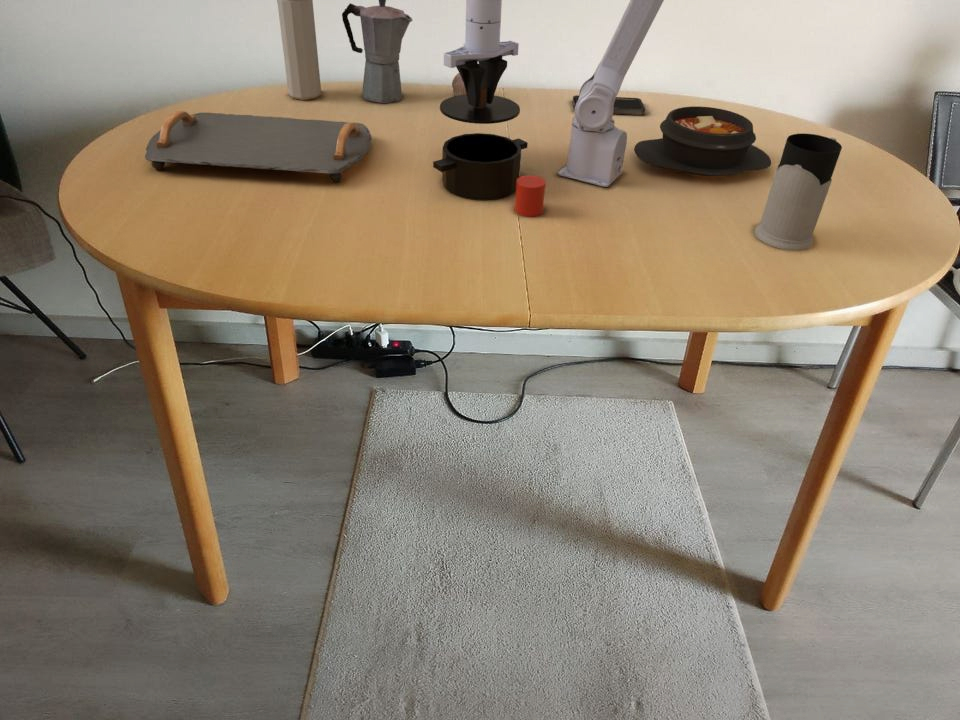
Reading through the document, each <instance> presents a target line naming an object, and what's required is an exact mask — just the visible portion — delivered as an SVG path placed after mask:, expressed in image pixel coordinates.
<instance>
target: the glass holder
mask: <svg viewBox="0 0 960 720" xmlns="http://www.w3.org/2000/svg"><path fill="white" fill-rule="evenodd" d="M842 149H843V146H842V145H841V144H840V143H839V142H838V141H837V139H836V138H835V137H827V136H824V135H819V134H814V133H804V132H803V133H802V132H801V133H794V134H791V135H788V136H787V138H786V140H785V144H784V148H783V151H782V154H781V156H780V160H779V164H778V165H777V166H776V170H775V173H774V176H773V179H772V183H771V185H770V190H769V193H768V196H767V200H766V203H765V206H764V210H763V212H762V215H761V218H760V222H759V224H758V225H757V226H756V227H755V229H754V235H755V236H756V238H757V239H758V240H760V241H761V242H763V243H764V244H765V245H768V246H771V247H774V248H777V249H781V250H787V251H802V250H803V251H804V250H807V249H809V248H810V247H812V246H813V245H814V232H815V229H816V226H817V223H818V220H819V218H820V215H821V212H822V210H823V206H824V204H825V201H826V199H827V195H828V193H829V189H830V186H831V184H832V181H833V179H832V177H833V174H834V172H835V169H836V167H837V163H838V160H839V158H840V155H841V151H842Z"/></svg>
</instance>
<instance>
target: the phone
mask: <svg viewBox="0 0 960 720" xmlns="http://www.w3.org/2000/svg"><path fill="white" fill-rule="evenodd" d="M578 99H579V94H578V95H577V94H576V95H573V96H572V106H573V110H574V111H575V106H576V103H577V101H578ZM645 111H646V107H645V105H644V103H643V100H642V99H641V98H638V97H623V96H616V99H615V102H614V106H613V115H633V116H644V115H645Z"/></svg>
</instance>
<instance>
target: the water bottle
mask: <svg viewBox="0 0 960 720" xmlns="http://www.w3.org/2000/svg"><path fill="white" fill-rule="evenodd" d="M276 2H277V10H278V11H277V12H278V18H279V27H280V35H281V43H282V52H283V60H284V68H285V76H286V85H287V90H288V96H289V97H291V98H293V99H295V100H298V101H299V100H300V101H310V100H314V99H317V98H318V97H320V96H321V95H322V87H321V86H322V85H321V76H320V75H321V74H320V66H319V65H320V64H319V53H318V43H317V34H316V33H317V32H316V23H315V12H314V11H315V10H314V1H313V0H276Z"/></svg>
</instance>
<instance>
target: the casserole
mask: <svg viewBox="0 0 960 720" xmlns="http://www.w3.org/2000/svg"><path fill="white" fill-rule="evenodd" d="M659 129H660V131H661V133H662V137H661V138H655V139H646V140H641V141H638V142H637V143H636V144H635V145H634V148H633V151H634V153H635V155H636V156H637V158H639V159H640V160H641V161H643V162H644V163H645V164H648V166H649V165H650V166H652V167H657V168H662V169H669V170H676V171H680V172H684V173H687V174H691V175H694V176H695V175H696V176H702V177H704V176H705V177H727V176H735V175H739V174H742V173H746V172H752V171H760V170H766V169H768V168H770V167H771V166H772V159H771V158H770V156H769V155H768V154H767V153H766V151H764V150H763V149H761V148H759V147H758V146H756V145H753V144H754V143H755V142H756V140H757V136H756V134H755V132H754V124H753V123H752V120H750V119H749V118H747V117H745V116H744V115H742V114H739V113H737V112H734V111H731V110H727V109H723V108H717V107H710V106H695V105H693V106H682V107H678V108H675V109H672V110H671V111H669V112H668V114H667V116H666V117H665V119H664V120H662V121H661V123H660V125H659Z"/></svg>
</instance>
